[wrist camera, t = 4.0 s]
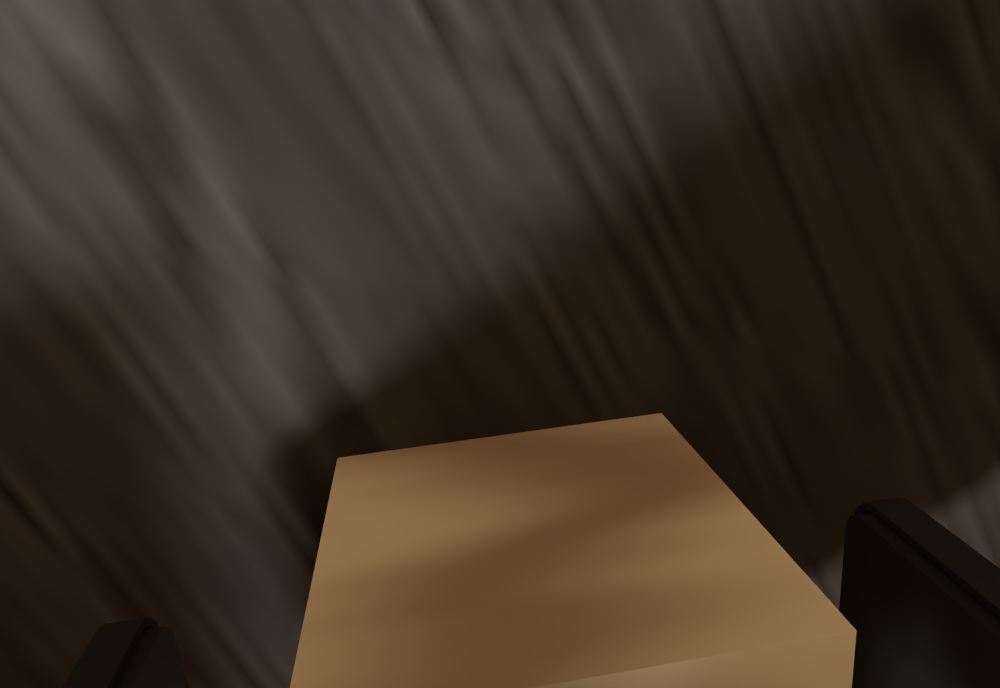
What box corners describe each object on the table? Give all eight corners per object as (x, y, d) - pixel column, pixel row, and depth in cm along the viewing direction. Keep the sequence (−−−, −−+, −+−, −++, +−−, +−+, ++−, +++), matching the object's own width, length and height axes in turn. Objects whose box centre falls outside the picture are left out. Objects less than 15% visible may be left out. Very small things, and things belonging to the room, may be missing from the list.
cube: (659, 410, 11) (856, 630, 6) (664, 666, 12) (825, 1000, 8) (338, 455, 10) (281, 732, 6) (385, 715, 12) (371, 1103, 7)
